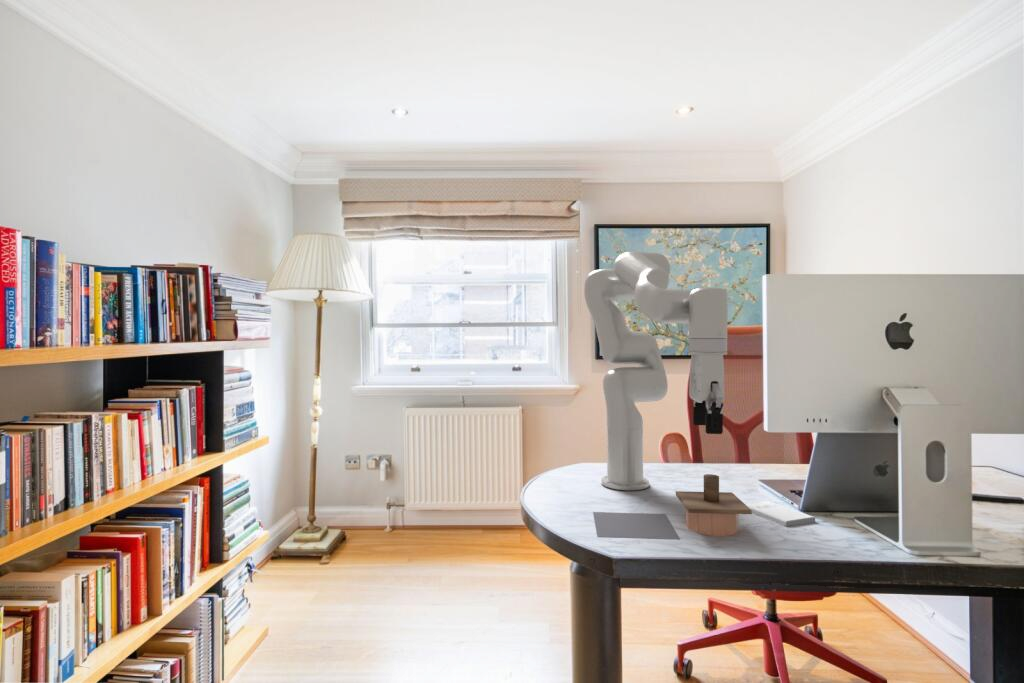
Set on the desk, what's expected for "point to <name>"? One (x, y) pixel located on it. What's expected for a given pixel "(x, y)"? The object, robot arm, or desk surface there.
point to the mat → (634, 525)
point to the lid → (712, 499)
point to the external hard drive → (779, 513)
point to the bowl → (713, 523)
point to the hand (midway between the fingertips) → (707, 429)
